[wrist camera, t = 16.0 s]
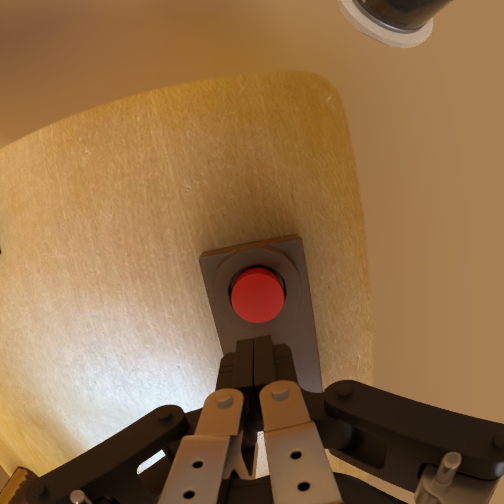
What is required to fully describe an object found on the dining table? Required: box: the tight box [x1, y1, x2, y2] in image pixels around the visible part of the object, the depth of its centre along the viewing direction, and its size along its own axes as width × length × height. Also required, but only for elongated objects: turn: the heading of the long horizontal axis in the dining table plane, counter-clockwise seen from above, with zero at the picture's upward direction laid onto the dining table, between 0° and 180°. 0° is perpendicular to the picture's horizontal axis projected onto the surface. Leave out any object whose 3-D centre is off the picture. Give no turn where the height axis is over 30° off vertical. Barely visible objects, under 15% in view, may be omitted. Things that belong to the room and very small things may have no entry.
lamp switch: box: [231, 268, 284, 323], centre depth 22 cm, size 4×4×2 cm
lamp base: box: [199, 234, 323, 393], centre depth 25 cm, size 15×8×4 cm, turn 11°
